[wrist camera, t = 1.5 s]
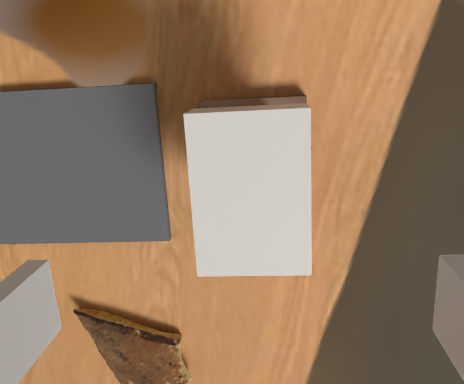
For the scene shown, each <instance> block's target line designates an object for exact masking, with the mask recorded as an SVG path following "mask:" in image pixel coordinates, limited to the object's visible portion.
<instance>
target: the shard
mask: <svg viewBox="0 0 464 384" xmlns="http://www.w3.org/2000/svg"><path fill="white" fill-rule="evenodd" d="M73 311H74V313H75V314H76V315H77V316H78V318H79V320H80V321H81V323H82V325H83V326H84V328H85V329H86V330H87V331H88V332H89V334H90V336H91V337H92V339H93V340H94V342H95V344H96V346H97V348H98V350H99V352H100V353H101V355H102V356H103V358H104V359H105V361H106V363H107V365H108V366H109V368H110V369H111V370H112V372H113V373H114V375H115V377H116V378H117V379H118V381H119V382H120V383H121V384H186V383H188V382H189V381H190V380H191V379H192V377H191V376H190V374H189V372H188V371H187V368H186V366H185V365H184V362H183V360H182V358H181V340H182V335H180V334H178V333H168V332H162V331H158V330H156V329H153V328H150V327H147V326H144V325H140V324H138V323H136V322H134V321H131V320H129V319H126V318H123V317H120V316H118V315H114V314H112V313H109V312H105V311H101V310H94V309H90V308H82V309H80V310H77V309H75V310H73Z"/></svg>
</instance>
